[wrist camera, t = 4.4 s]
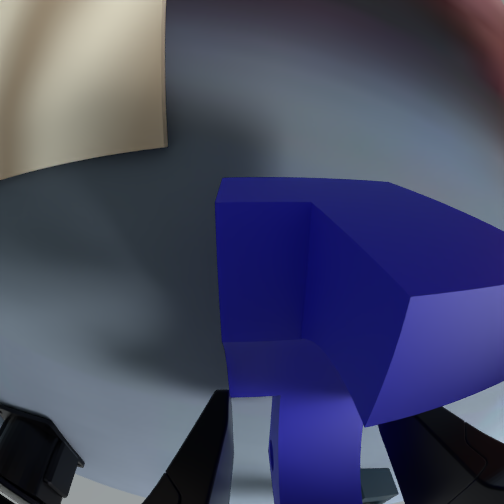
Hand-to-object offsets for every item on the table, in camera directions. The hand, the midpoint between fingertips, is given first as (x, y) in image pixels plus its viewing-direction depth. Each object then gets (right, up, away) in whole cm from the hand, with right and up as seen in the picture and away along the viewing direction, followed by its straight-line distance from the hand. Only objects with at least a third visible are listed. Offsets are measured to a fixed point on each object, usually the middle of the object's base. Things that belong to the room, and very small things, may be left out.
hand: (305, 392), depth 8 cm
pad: (-11, +13, -1) cm, 17 cm away
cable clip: (0, +1, +1) cm, 2 cm away
